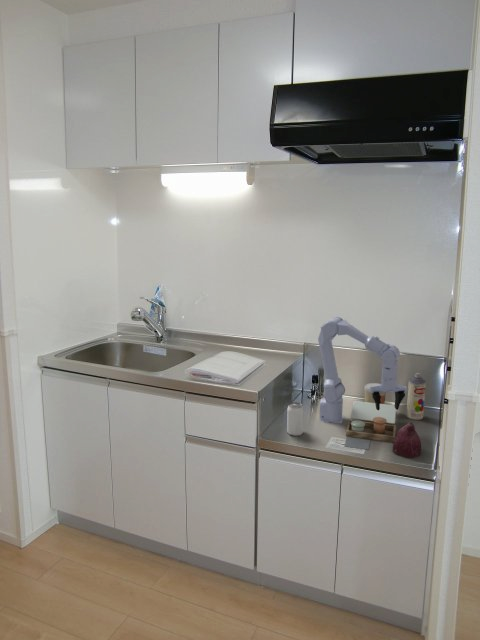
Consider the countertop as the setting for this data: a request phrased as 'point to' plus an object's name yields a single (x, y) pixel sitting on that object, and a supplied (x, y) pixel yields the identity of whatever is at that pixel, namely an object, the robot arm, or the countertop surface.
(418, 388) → the aerosol can
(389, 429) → the brown rectangular frame
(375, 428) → the pot
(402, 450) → the vegetable
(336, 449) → the countertop surface
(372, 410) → the lid
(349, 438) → the slate mat
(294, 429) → the can
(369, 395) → the coffee cup
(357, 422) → the glazed pot
